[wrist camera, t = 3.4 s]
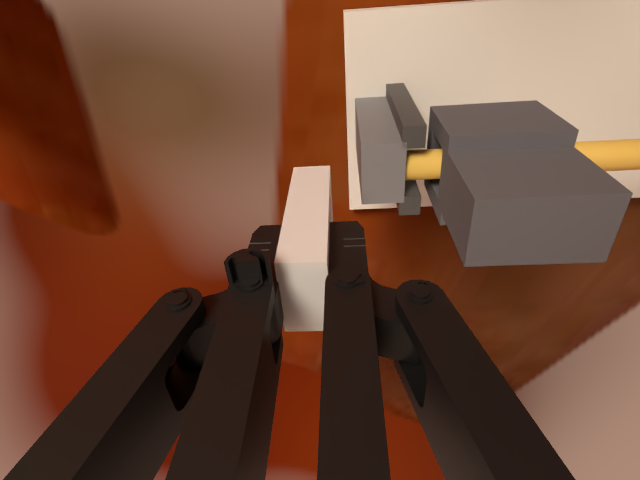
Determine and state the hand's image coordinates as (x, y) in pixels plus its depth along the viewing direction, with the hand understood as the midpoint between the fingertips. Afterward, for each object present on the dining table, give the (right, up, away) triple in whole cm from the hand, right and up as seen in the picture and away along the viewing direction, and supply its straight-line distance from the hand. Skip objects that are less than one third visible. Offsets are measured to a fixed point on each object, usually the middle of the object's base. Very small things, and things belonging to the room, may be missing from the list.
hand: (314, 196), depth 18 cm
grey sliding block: (+8, +3, +3) cm, 9 cm away
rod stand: (+13, +6, +8) cm, 16 cm away
